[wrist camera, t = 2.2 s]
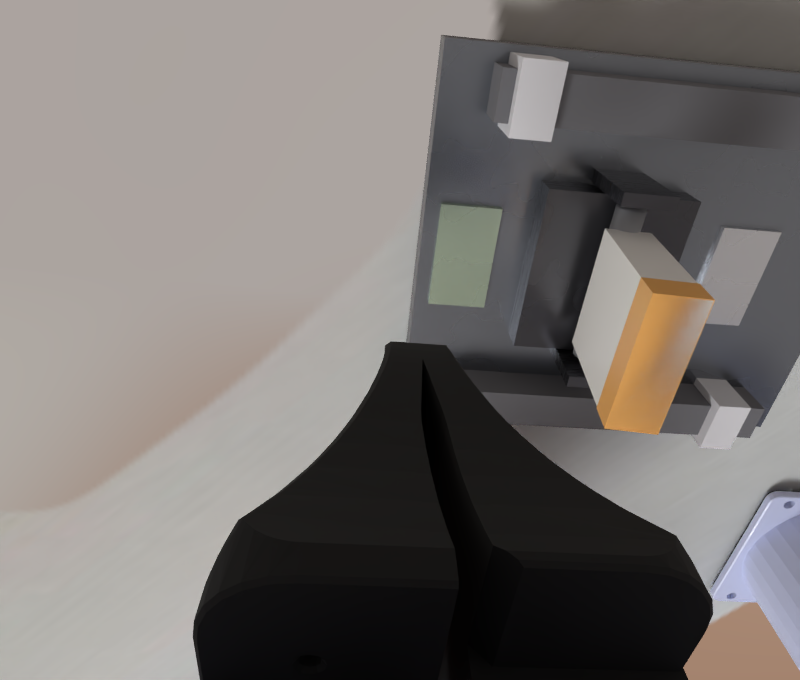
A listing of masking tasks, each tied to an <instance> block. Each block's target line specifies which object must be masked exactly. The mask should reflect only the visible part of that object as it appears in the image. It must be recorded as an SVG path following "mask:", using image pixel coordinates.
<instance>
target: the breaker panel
mask: <svg viewBox="0 0 800 680" xmlns="http://www.w3.org/2000/svg"><path fill="white" fill-rule="evenodd" d="M510 52H516V53H525V54H535V55H545V56H552V57H555V58H558V59H561V60H564V61H567V62H569V64H568V69H567V70H577V71H587V72H596V73H606V74H616V75H626V76H636V77H646V78H656V79H666V80H676V81H686V82H696V83H706V84H716V85H726V86H735V87H745V88H755V89H765V90H775V91H785V92H795V93H800V72H795V71H785V70H776V69H766V68H756V67H747V66H737V65H727V64H718V63H708V62H698V61H689V60H679V59H669V58H660V57H650V56H640V55H631V54H621V53H611V52H602V51H592V50H582V49H573V48H563V47H553V46H544V45H534V44H524V43H514V42H505V41H495V40H485V39H475V38H466V37H456V36H447V35H441V42H440V51H439V60H438V68H437V77H436V87H435V95H434V104H433V112H432V121H431V130H430V139H429V148H428V157H427V165H426V174H425V183H424V191H423V200H422V209H421V218H420V227H419V235H418V244H417V253H416V262H415V271H414V279H413V288H412V297H411V306H410V315H409V323H408V332H407V341H406V343H422V344H437V345H446V346H447V347H448V348H449V349H450V351H451V352H452V354H453V355H454V357H455V358H456V359H457V361H458V362H459V364H460V365H461V367H462V368H463V369H464V370H479V371H495V372H510V373H526V374H542V375H557V376H562V378H563V380H564V382H565V384H566V386H567V387H582V388H590V387H589V385H588V382H587V379H586V377H585V374H584V372H583V369H582V367H581V364H580V361H579V359H578V358H577V357H576V356H575V355H574V354H573V350H574V346H573V343H572V340H573V337H574V333H575V330H576V327H577V323H578V320H579V316H580V313H581V309H582V306H583V302H584V299H585V296H586V292H587V289H588V285H589V282H590V278H591V275H592V272H593V268H594V265H595V261H596V258H597V254H598V251H599V247H600V244H601V241H602V237H603V234H604V230H605V228H608V229H609V227H610V224H611V221H612V217H613V214H614V210H615V207H616V205H617V204H618V205H619V206H620V207H630V208H642V209H646V210H647V214H646V217H645V220H644V223H643V226H642V229H641V232H644V233H652V234H653V235H654V236H655V237H656V239H657V240H658V241H659V242H660V243H661V244H662V245H663V246H664V247H665V248H666V249H667V250H668V252H669V253H670V254H671V255H672V256H673V257H674V258H675V259H676V260H677V261H678V262H679V263H680V265H681V266H682V267H683V268H684V269H685V270H686V271H687V272H688V273H689V274H690V275H691V276H692V278H693V279H694V280H695V281H696V282H697V283H699V284H701V285H702V287H703V288H704V289H705V290H706V291H707V292H708V293H709V294H710V295H711V296H712V297H713V298H714V299H715V302H714V304H713V306H712V309H711V311H710V313H709V316H708V318H707V320H706V323H705V325H704V328H703V330H702V332H701V335H700V337H699V339H698V342H697V344H696V346H695V349H694V351H693V353H692V356H691V358H690V360H689V363H688V365H687V368H686V370H685V372H684V375H683V377H682V379H681V382H680V383H683V384H694V383H695V380H696V378H705V379H720V380H726V381H727V382H728V383H729V384H730V385H731V386H732V387H745V388H746V390H747V391H748V392H749V393H750V394H751V395H752V396H753V397H754V398H755V399H756V400H757V401H758V402H759V404H760V405H761V406H762V407H763V408H764V409H765V410H764V412H763V414H762V416H761V418H760V420H759V421H758V423H757V425H756V426H758V427H761V425H762V423H763V421H764V419H765V417H766V416H767V414H768V412H769V410H770V408H771V406H772V405H773V403H774V401H775V399H776V397H777V395H778V393H779V392H780V390H781V388H782V386H783V384H784V382H785V380H786V379H787V377H788V375H789V373H790V371H791V369H792V368H793V366H794V364H795V362H796V360H797V358H798V356H799V355H800V151H792V150H781V149H770V148H760V147H749V146H738V145H728V144H717V143H706V142H696V141H685V140H674V139H663V138H653V137H642V136H631V135H621V134H610V133H599V132H589V131H578V130H567V129H556V128H554V132H553V137H552V141H551V142H545V141H534V140H523V139H513V138H508V137H507V136H506V135H505V133H504V132H503V131H502V130H501V129H500V128H499V127H498V123H494V122H493V121H492V120H491V119H490V118H489V117H488V115H487V114H486V112H487V106H488V99H489V93H490V87H491V81H492V74H493V68H494V62H497V63H507V64H508V62H509V56H510Z"/></svg>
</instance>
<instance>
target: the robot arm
mask: <svg viewBox="0 0 800 680" xmlns="http://www.w3.org/2000/svg"><path fill="white" fill-rule="evenodd" d="M710 593H711V595H712V597H713V599H715V600H718V601H736V602H757V603H758V604H759V606H760V607H761V609H762V611H763V612H764V614H765V615H766V617H767V619H768V620H769V622H770V623H771V625H772V627H773V628H774V630H775V631H776V633H777V635H778V637H779V638H780V640H781V641H782V643H783V645H784V646H785V648H786V649H787V651H788V653H789V654H790V656H791V658H792V659H793V661H794V662H795V664H796V665H797V667H798V669H799V670H800V492H786V491H775V492H772V493H770V494H768V495H767V496H766V497H765V499H764V501H763V502H762V504H761V506H760V508H759V509H758V511H757V513H756V514H755V516H754V518H753V519H752V521H751V523H750V524H749V526H748V528H747V529H746V531H745V533H744V534H743V536H742V538H741V539H740V541H739V543H738V544H737V546H736V548H735V549H734V551H733V553H732V554H731V556H730V558H729V560H728V561H727V563H726V565H725V566H724V568H723V570H722V571H721V573H720V575H719V576H718V578H717V580H716V581H715V583H714V585H713V586H712V588H711V590H710ZM712 615H713V604H712V598H711V596H710V594H709V593H708V591H707V589H706V587H705V585H704V583H703V581H702V579H701V577H700V575H699V573H698V572H697V570H696V568H695V566H694V564H693V562H692V560H691V559H690V557H689V555H688V554H687V552H686V551H685V549H684V547H683V546H682V544H681V543H680V541H679V540H678V538H677V536H676V535H674V534H672V533H670V532H668V531H666V530H664V529H662V528H660V527H658V526H656V525H654V524H652V523H650V522H648V521H646V520H644V519H642V518H640V517H639V516H637V515H635V514H633V513H631V512H629V511H627V510H625V509H623V508H622V507H620V506H618V505H616V504H615V503H613V502H611V501H610V500H608V499H607V498H605V497H603V496H602V495H600V494H598V493H597V492H595V491H593V490H592V489H590V488H589V487H587V486H586V485H584V484H583V483H581V482H580V481H578V480H577V479H575V478H574V477H572V476H571V475H570V474H568V473H567V472H566V471H564V470H563V469H562V468H560V467H559V466H557V465H556V464H555V463H553V462H552V461H551V460H549V459H548V458H547V457H546V456H544V455H543V454H542V453H541V452H539V451H538V450H537V449H536V448H535V447H534V446H533V445H532V444H530V443H529V442H528V441H527V440H526V439H525V438H524V437H522V436H521V435H520V434H519V433H518V432H517V431H516V430H515V429H514V428H513V427H512V426H511V425H510V424H509V423H508V422H507V421H506V420H505V419H504V418H503V417H502V416H501V415H500V414H499V413H498V412H497V411H496V409H495V408H494V407H493V406H492V405H491V404H490V403H489V401H488V400H487V399H486V398H485V396H484V395H483V394H482V393H481V391H480V390H479V389H478V388H477V387H476V385H475V384H474V383H473V381H472V380H471V379H470V377H469V376H468V375H467V373H466V372H465V371H464V369H463V368H462V367H461V365H460V364H459V362H458V361H457V359H456V358H455V357H454V355H453V354H452V352H451V351H450V349H449V348H448V347H447V346H446V345H437V344H422V343H406V342H390V343H388V344H387V345H386V346H385V354H384V358H383V361H382V364H381V366H380V369H379V371H378V374H377V376H376V378H375V380H374V382H373V384H372V386H371V388H370V389H369V391H368V393H367V395H366V396H365V398H364V400H363V401H362V403H361V404H360V406H359V407H358V409H357V411H356V412H355V414H354V415H353V417H352V418H351V419H350V421H349V422H348V424H347V425H346V426H345V427H344V429H343V430H342V431H341V432H340V434H339V435H338V436H337V437H336V439H335V440H334V441H333V442H332V443H331V444H330V445H329V446H328V447H327V449H326V450H325V451H324V452H323V453H322V454H321V455H320V456H319V457H318V458H317V459H316V460H315V461H314V462H313V463H312V464H311V465H310V466H309V467H308V468H307V469H306V470H304V471H303V472H302V473H301V474H300V475H299V476H297V477H296V478H295V479H294V480H293V481H292V482H290V483H289V484H288V485H287V486H286V487H285V488H283V489H282V490H281V491H280V492H278V493H277V494H276V495H274V496H273V497H272V498H270V499H269V500H267V501H266V502H264V503H263V504H261V505H260V506H259V507H257V508H256V509H254V510H253V511H251V512H250V513H248V514H247V515H245V516H244V517H242V518H241V519H239V520H238V522H237V523H236V525H235V526H234V528H233V530H232V532H231V533H230V535H229V537H228V538H227V540H226V542H225V544H224V546H223V547H222V549H221V551H220V553H219V555H218V557H217V559H216V561H215V563H214V566H213V568H212V570H211V572H210V574H209V577H208V579H207V582H206V584H205V587H204V590H203V593H202V597H201V600H200V603H199V606H198V610H197V613H196V616H195V620H194V629H193V640H194V646H195V652H196V658H197V664H198V670H199V676H200V680H688V678H687V676H686V673H685V671H684V669H683V667H684V665H685V663H686V662H687V660H688V659H689V657H690V655H691V654H692V652H693V651H694V649H695V647H696V646H697V644H698V643H699V641H700V640H701V638H702V637H703V635H704V633H705V631H706V629H707V627H708V625H709V622H710V620H711V617H712Z"/></svg>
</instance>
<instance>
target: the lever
mask: <svg viewBox="0 0 800 680" xmlns="http://www.w3.org/2000/svg"><path fill="white" fill-rule="evenodd" d="M646 214H647V210H646V209H642V208H630V207H620V206H619V205H618V204H617V205H616V207H615V210H614V214H613V217H612V221H611V224H610V227H609V229H608V228H605V230H604V234H603V237H602V241H601V244H600V247H599V251H598V254H597V258H596V261H595V265H594V268H593V272H592V275H591V278H590V282H589V285H588V289H587V292H586V296H585V299H584V302H583V306H582V309H581V313H580V316H579V320H578V323H577V327H576V330H575V333H574V337H573V340H572V343H573V346H574V350H573V354H574V355H575V356H576V357H577V358H578V359H579V361H580V364H581V367H582V369H583V372H584V374H585V377H586V379H587V382H588V385H589V387H590V390H591V392H592V395H593V398H594V400H595V403H596V405H597V411H598V413H599V416H600V419H601V421H602V424H603V426H604V429H613V430H622V431H630V432H639V433H648V434H657V435H658V434H659V431H660V429H661V426H662V424H663V422H664V419H665V417H666V415H667V412H668V410H669V408H670V405H671V403H672V401H673V398H674V396H675V393H676V391H677V389H678V386H679V384H680V382H681V379H682V377H683V375H684V372H685V370H686V368H687V365H688V363H689V360H690V358H691V356H692V353H693V351H694V349H695V346H696V344H697V342H698V339H699V337H700V335H701V332H702V330H703V328H704V325H705V323H706V320H707V318H708V316H709V313H710V311H711V309H712V306H713V304H714V302H715V299H714V298H713V297H712V296H711V295H710V294H709V293H708V292H707V291H706V290H705V289H704V288H703V287H702V285H701V284H699V283H697V282H696V281H695V280H694V279H693V278H692V276H691V275H690V274H689V273H688V272H687V271H686V270H685V269H684V268H683V267H682V266H681V265H680V263H679V262H678V261H677V260H676V259H675V258H674V257H673V256H672V255H671V254H670V253H669V252H668V250H667V249H666V248H665V247H664V246H663V245H662V244H661V243H660V242H659V241H658V240H657V239H656V237H655V236H654V235H653V234H652V233H644V232H641V229H642V226H643V223H644V220H645V217H646Z"/></svg>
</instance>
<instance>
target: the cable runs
mask: <svg viewBox="0 0 800 680" xmlns="http://www.w3.org/2000/svg"><path fill="white" fill-rule="evenodd" d="M568 64H569V62H567V61H564V60H561V59H558V58H555V57H552V56H545V55H535V54H525V53H516V52H510V56H509V62H508V64H507V63H497V62H494V68H493V74H492V81H491V87H490V93H489V99H488V106H487V112H486V114H487V115H488V117H489V118H490V119H491V120H492V121H493V122H494V123H498V127H499V128H500V129H501V130H502V131H503V132H504V133H505V135H506V136H507V137H508V138H513V139H523V140H534V141H545V142H551V141H552V137H553V132H554V128H556V129H567V130H578V131H589V132H599V133H610V134H621V135H631V136H642V137H653V138H663V139H674V140H685V141H696V142H706V143H717V144H728V145H738V146H749V147H760V148H770V149H781V150H792V151H800V93H795V92H785V91H775V90H765V89H755V88H745V87H735V86H726V85H716V84H706V83H696V82H686V81H676V80H666V79H656V78H646V77H636V76H626V75H616V74H606V73H596V72H587V71H577V70H567V69H568ZM464 371H465V372H466V373H467V375H468V376H469V377H470V379H471V380H472V381H473V383H474V384H475V385H476V387H477V388H478V389H479V390H480V391H481V393H482V394H483V395H484V396H485V398H486V399H487V400H488V401H489V403H490V404H491V405H492V406H493V407H494V408H495V409H496V411H497V412H498V413H499V414H500V415H501V416H502V417H503V418H504V419H505V420H506V421H507V422H508V423H509V424H519V425H536V426H553V427H571V428H588V429H604V426H603V424H602V421H601V419H600V416H599V413H598V411H597V405H596V403H595V400H594V398H593V395H592V392H591V390H590V388H582V387H567V386H566V384H565V382H564V380H563V378H562V376H557V375H542V374H526V373H510V372H495V371H479V370H464ZM764 410H765V409H764V408H763V407H762V406H761V405H760V404H759V402H758V401H757V400H756V399H755V398H754V397H753V396H752V395H751V394H750V393H749V392H748V391H747V390H746V388H745V387H732V386H731V385H730V384H729V383H728V382H727V381H726V380H720V379H705V378H696V380H695V383H694V384H683V383H680V384H679V386H678V389H677V391H676V393H675V396H674V398H673V401H672V403H671V405H670V408H669V410H668V412H667V415H666V417H665V419H664V422H663V424H662V426H661V429H660V431H659V433H674V434H691V436H692V437H693V439H694V440H695V441H696V443H697V444H698V446H699V447H700V448H713V449H730V448H731V446H732V444H733V443H734V441H735V439H736V437H744V438H750V436H751V434H752V433H753V431H754V429H755V427H756V425H757V423H758V421H759V420H760V418H761V416H762V414H763V412H764ZM605 430H613V429H605Z"/></svg>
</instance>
